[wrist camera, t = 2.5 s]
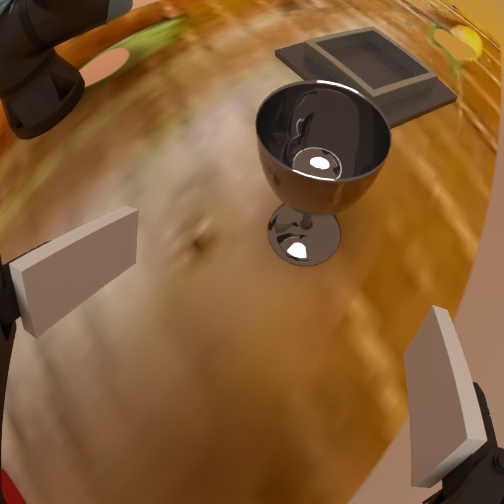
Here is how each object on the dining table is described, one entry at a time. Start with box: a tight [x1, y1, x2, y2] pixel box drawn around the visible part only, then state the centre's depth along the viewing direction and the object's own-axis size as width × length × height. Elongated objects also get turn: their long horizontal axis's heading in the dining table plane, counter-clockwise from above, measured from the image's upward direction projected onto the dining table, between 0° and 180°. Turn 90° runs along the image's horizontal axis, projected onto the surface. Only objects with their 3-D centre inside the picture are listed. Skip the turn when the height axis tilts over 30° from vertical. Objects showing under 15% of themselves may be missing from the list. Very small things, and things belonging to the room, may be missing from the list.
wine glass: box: [256, 80, 392, 266], centre depth 24 cm, size 8×8×15 cm
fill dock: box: [275, 27, 457, 129], centre depth 37 cm, size 20×20×4 cm
